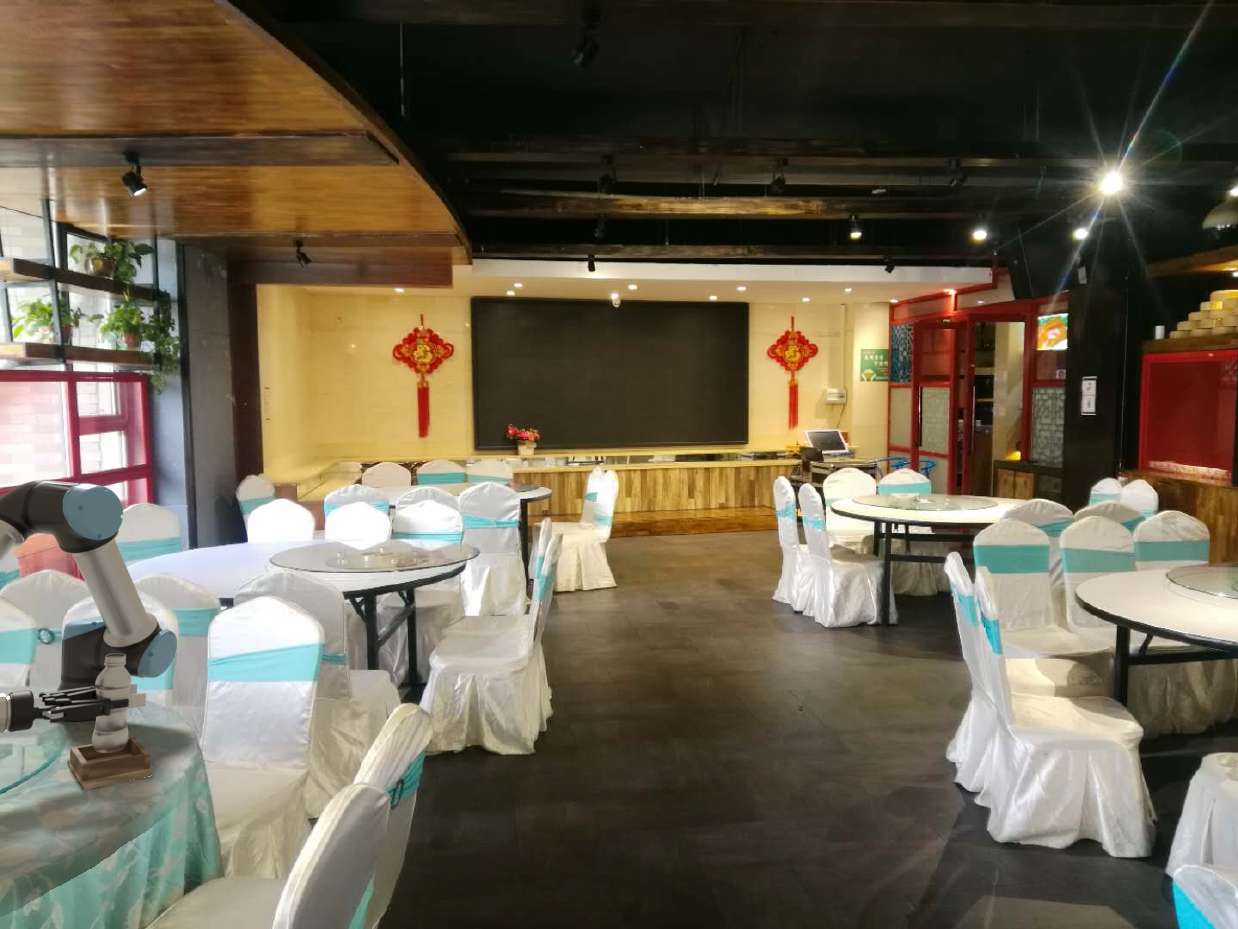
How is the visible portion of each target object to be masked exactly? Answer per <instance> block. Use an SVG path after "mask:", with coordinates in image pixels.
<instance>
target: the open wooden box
mask: <svg viewBox="0 0 1238 929" xmlns="http://www.w3.org/2000/svg"><path fill="white" fill-rule="evenodd" d="M67 765H68V767H69V769H70V770H71V772H73V774H74V777H76V779H77V781H78V782H79V784H80V785H81V787H82V788H83V790H84V791H86V790H90V789H94V788H95V789H96V788H101V787H107V786H110V785H111V786H112V785H116V784H121V783H122V784H123V783H125V781H127V782H131V781H130V780H132V781H134V780H133V779H137V780H141V778H142V779H145V778H144V777H147V778H149V777H148V776H151V775H152V776H153V771H152V769H151V768H150V767H151V752H149V751H148V749H146V747H145V746H144V745H143V744H142V743H141V741H139V739H138V738H137V737H136V736H132V737H129V738H128V742H127V745H126V746H125V747H124V749H122V750H120V751H117V752H112V753H100V752H96V751H95V750H94V748H93V747H92V743H90V744H85V745H78V746H71V747H70V752H69V758H67ZM106 785H107V786H106Z"/></svg>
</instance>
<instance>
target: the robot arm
mask: <svg viewBox="0 0 1238 929" xmlns="http://www.w3.org/2000/svg"><path fill="white" fill-rule="evenodd" d="M123 515H124V507H123V505H122V502H121V500H120V498H119V496H118V495H117V494H116V493H115V492H114V491H113V490H111V489H110V488H108V487H106V486H103V485H98V484H95V483H92V482H91V483H90V482H81V483H78V482H69V481H68V482H67V481H58V480H57V481H56V480H50V479H38V480H33V481H32V480H31V481H27V482H26V483H22V484H21V485H19V486H16V487H15V488H12V489H11V490H10V491H8V492H7V493H5V494H3V495H2V496H1V497H0V563H1V562H2V561H3V560H4V559H5V557H6V556H7V555H8V554H9V553H10V552H11V551H12V549H13V548H15V547H16V548H17V547H21V546H23V544H24V543H25V542H26V540H28V539H29V538H30V537H31V536H33V535H36V534H43V535H53V537H54V538H55V540H56V542H57V544H58V547H59V549H60V550H61V551H62V552H63V553H65V554H67V555H68V554H69V555H71V556H72V557H73V559H74V561H75V563H76V566H77V568H78V570H79V571H80V574H81V576H82V578H83V580H84V582H85V584H86V586H87V588H88V591H89V593H90V595H91V598H92V599H93V602H94V604H95V606H96V608H97V610H98V612H99V614H100V616H92V617H91V616H90V617H85V618H79V619H75V620H73V621H72V620H71V621H70V622H68V623H66V624H65V626H64V629H63V635H62V639H61V659H60V660H61V661H60V662H61V663H60V664H61V665H60V667H61V668H60V683H59V685H58V687H57V690H55V691H46V692H45V691H42V692H39V693H38V697H36V698H35V696H34V693H33V692H32V691H31V690H28V689H27V690H18V691H10V692H9V693H8V695H7V694H6V693H5V692H1V693H0V734H4V732H6V730H7V731H8V732H9V733H13V732H20V731H26V730H27V731H28V730H30V729H31V728H32V727H33V724H34V721H35V720H44V721H49V720H50V721H49V723H50V724H55V723H59V722H60V723H61V722H63V721H66V722H81V721H84V722H85V721H93V720H96V717H97V716H109V715H110V711H113V710H120V709H127V710H128V709H135V708H139V707H140V708H141V707H142V708H143V707H146V701H147V700H146V699H147V692H144V691H143V692H138V684H137V683H134V684H132V683H131V687H130V691H129V694H128V695H120V696H113V697H110V699H97V695H96V679H97V677H98V676H99V674H100V673H101V672H102V671H103V670H104V668H105V667H106V666H105V665H104V662H105V657H106V655H108V654H116V653H119V654H125V655H126V664H125V665H124V667H125V668H126V670H127V671H128V672H129V674H130V675H131V677H135V678H141V679H145V678H152V679H153V678H158V677H160V676H161V675H163V674H164V673H166V671H167V670H168V669H169V668H170V666H171V665H172V664H173V661H174V659H175V658H176V657H175V655H176V654H177V650H178V638H177V635H176V633H175V632H174V631H172V630H170V629H168V628H167V629H162V627H161V626H160V624H159V621H158V618H157V617H156V615H154V614H153V613H150V612H146V610H145V607H144V604H143V602H142V600H141V598H140V595H139V593H138V589H137V588H136V586H135V583H134V581H133V578H132V576H131V575H130V574H131V573H130V572H129V570H128V567H127V565H126V562H125V561H124V558H123V555H122V553H121V551H120V548H119V546H118V544H117V542H116V538H117V536H118V535H119V532H120V527H121V526H122V523H123V518H122V516H123Z"/></svg>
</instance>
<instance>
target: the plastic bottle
mask: <svg viewBox="0 0 1238 929" xmlns="http://www.w3.org/2000/svg"><path fill="white" fill-rule="evenodd" d="M125 664H126V655H125V654H119V653H116V654H108V655H106V657H105V662H104V665H105V666H106V667H105V668H104V670H103V671H102V672H101V673H100V674H99V676H98V677H97V679H96V695H97V699H110V697H113V696H120V695H128V694H129V691H130V687H131V685H132V681H133V680H132V676H131V675H130V674H129V672H128V671H127V670H126V668H125V667H124V665H125ZM127 711H128V709H120V710H113V711H110V715H109V716H97V717H96V719H95V724H94V729H93V732H92V737H91V744H92V747H93V748H94V750H95V751H96V752H100V753H112V752H117V751H120V750H122V749H124V747H125V746H126V745H127V742H128V738H130V737H129V736H130V735H129V728H128V721H127V720H128V719H127V718H128V717H127V716H128V715H127V714H128V713H127Z"/></svg>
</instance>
